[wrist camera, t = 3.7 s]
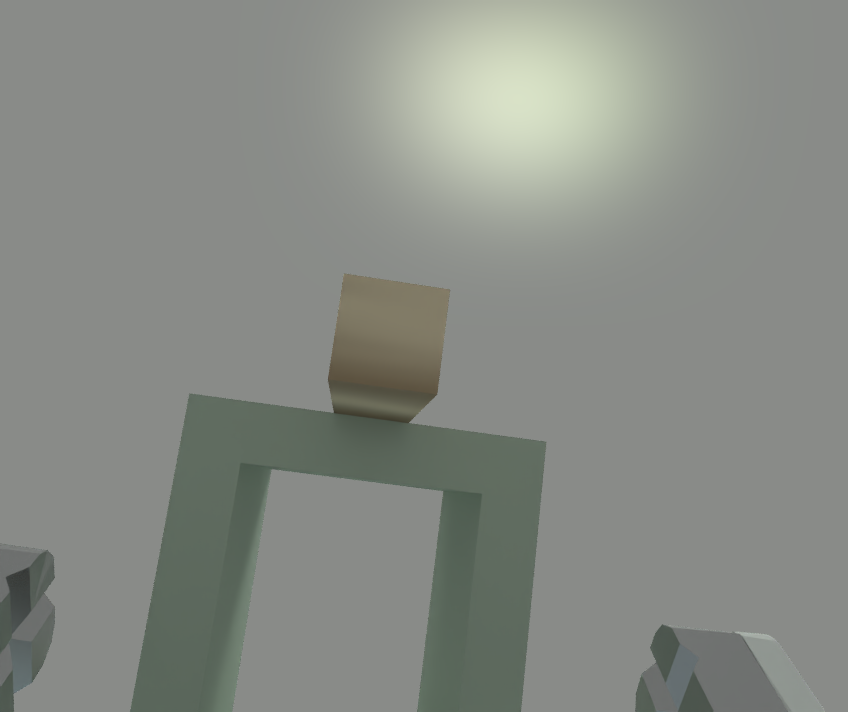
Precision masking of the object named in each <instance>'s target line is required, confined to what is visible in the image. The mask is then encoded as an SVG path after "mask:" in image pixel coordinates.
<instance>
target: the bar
mask: <svg viewBox="0 0 848 712" xmlns="http://www.w3.org/2000/svg"><path fill="white" fill-rule="evenodd" d="M449 293H450V290H449V289H443V288H437V287H430V286H423V285H417V284H410V283H403V282H397V281H390V280H383V279H376V278H370V277H363V276H357V275H350V274H344V277H343V283H342V290H341V297H340V304H339V310H338V317H337V323H336V330H335V336H334V344H333V350H332V356H331V363H330V370H329V376H328V382H329V388H330V393H331V399H332V405H333V410H334V413H337V414H344V415H352V416H359V417H367V418H374V419H381V420H389V421H396V422H404V423H409V422H410V421H411V420H412V419H413V418H414V417H415V416H416V415H417V414H418V413H419V412H420V411H421V410H422V409H423V408H424V407H425V406H426V405H427V404H428V403H429V402H430V401H431V400H432V399H433V398H434V397H435V396H436V395H437V392H438V383H439V376H440V368H441V359H442V351H443V342H444V334H445V327H446V318H447V310H448V302H449Z"/></svg>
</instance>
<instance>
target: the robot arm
mask: <svg viewBox="0 0 848 712" xmlns="http://www.w3.org/2000/svg"><path fill="white" fill-rule="evenodd" d="M54 578H55V577H54V558H53V555H52V554H51V553H50V552H49V551H48V550H42V549H35V548H28V547H21V546H13V545H6V544H0V712H14V699H13V698H14V697H13V694H14V693H15V692H17V691H19V690H20V689H22V688H24V687H26V686H27V685H29V684H31V683H32V682H33V680H34V679H35V677H36V675H37V674H38V672H39V670H40V669H41V667H42V665H43V663H44V660H45V658H46V655H47V652H48V650H49V647H50V644H51V641H52V635H53V630H54V624H55V607H54V605H53V604H52V603H51V601H50V600H49V599H48V597H47V596H46V595H45V594H44V592H45V591H46V590H47V588H48V587H49V585H50V584H51V582H52V581H53V580H54ZM650 648H651V651H652V653H653V655H654V658H655V660H656V663H655V664H654V665H652V666H651V667H650V668H649V669H647V670H646V671H645V672H643V673H642V675H641V678H640V682H639V685H638V689H637V692H636V710H635V712H825V710H824V709H823V707H822V706H821V704H820V703H819V701H818V700H817V698H816V697H815V695H814V694H813V693H812V691H811V690H810V688H809V687H808V685H807V684H806V682H805V681H804V679H803V678H802V676H801V675H800V673H799V672H798V670H797V669H796V668H795V666H794V665H793V663H792V662H791V660H790V659H789V657H788V656H787V654H786V653H785V651H784V650H783V649H782V647H781V646H780V644H779V643H778V641H776V640H775V639H774V638H772V637H771V636H769V635H766V634H755V633H744V632H731V633H730V632H722V631H713V630H705V629H696V628H687V627H679V626H669V625H662V626H661V627H660V628H659V629H658V631H657V632H656V633H655V636H654V639H653V642H652V644H651V647H650Z"/></svg>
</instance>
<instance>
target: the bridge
mask: <svg viewBox="0 0 848 712" xmlns="http://www.w3.org/2000/svg"><path fill="white" fill-rule="evenodd" d="M545 450H546V442H544V441H536V440H529V439H522V438H514V437H507V436H500V435H492V434H484V433H478V432H470V431H463V430H455V429H448V428H441V427H433V426H426V425H418V424H411V423H404V422H396V421H389V420H381V419H374V418H367V417H359V416H352V415H344V414H337V413H330V412H321V411H315V410H307V409H300V408H293V407H285V406H278V405H270V404H263V403H255V402H248V401H241V400H233V399H226V398H219V397H211V396H203V395H196V394H189V399H188V404H187V410H186V415H185V420H184V426H183V431H182V437H181V442H180V447H179V453H178V458H177V464H176V469H175V474H174V479H173V485H172V490H171V496H170V501H169V506H168V511H167V517H166V523H165V528H164V533H163V538H162V544H161V549H160V555H159V560H158V565H157V571H156V576H155V582H154V587H153V592H152V597H151V603H150V608H149V614H148V619H147V624H146V630H145V635H144V640H143V646H142V651H141V656H140V662H139V668H138V673H137V678H136V684H135V689H134V695H133V699H132V705H131V710H130V712H232V709H233V703H234V697H235V691H236V685H237V679H238V672H239V666H240V660H241V654H242V648H243V642H244V636H245V629H246V623H247V617H248V611H249V604H250V598H251V592H252V586H253V580H254V574H255V568H256V561H257V555H258V549H259V543H260V537H261V531H262V525H263V518H264V512H265V506H266V500H267V494H268V487H269V481H270V475H271V469H276V470H283V471H292V472H299V473H307V474H314V475H322V476H330V477H338V478H346V479H353V480H362V481H369V482H377V483H385V484H393V485H400V486H408V487H416V488H424V489H432V490H440V491H443V499H442V507H441V516H440V524H439V533H438V542H437V549H436V559H435V567H434V575H433V583H432V592H431V600H430V609H429V617H428V625H427V634H426V642H425V651H424V659H423V668H422V676H421V685H420V693H419V702H418V710H417V712H521V705H522V695H523V684H524V673H525V662H526V652H527V641H528V630H529V620H530V609H531V598H532V588H533V577H534V567H535V556H536V546H537V535H538V524H539V514H540V502H541V492H542V482H543V471H544V461H545Z"/></svg>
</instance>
